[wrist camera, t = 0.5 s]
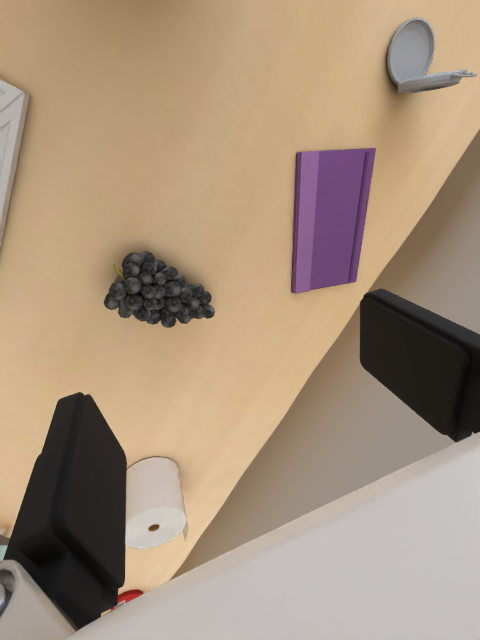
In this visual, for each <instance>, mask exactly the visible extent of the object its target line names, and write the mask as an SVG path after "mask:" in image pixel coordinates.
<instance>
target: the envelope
mask: <svg viewBox="0 0 480 640" xmlns="http://www.w3.org/2000/svg"><path fill="white" fill-rule="evenodd" d="M29 98H30V95H29V94H28V93H26V92H24V91H22V90H20V89H18V88H16V87H14V86H12V85H10V84H8V83H6V82H4V81H2V80H1V79H0V249H1V244H2V239H3V233H4V228H5V223H6V218H7V213H8V207H9V202H10V197H11V192H12V186H13V181H14V176H15V171H16V165H17V160H18V155H19V150H20V145H21V139H22V134H23V129H24V124H25V118H26V113H27V108H28V103H29Z"/></svg>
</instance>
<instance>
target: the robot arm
mask: <svg viewBox="0 0 480 640" xmlns="http://www.w3.org/2000/svg"><path fill="white" fill-rule="evenodd" d="M360 362H361V364H362V366H363V367H364V369H365V370H367V371H368V372H369V373H370V374H371V375H372V376H374V377H375V378H376V379H377V380H378V381H379V382H381V383H382V384H383V385H384V386H385V387H387V388H388V389H389V390H390V391H391V392H392V393H394V394H395V395H396V396H397V397H398V398H399V399H401V400H402V401H403V402H404V403H405V404H407V405H408V406H409V407H410V408H411V409H412V410H414V411H415V412H416V413H417V414H418V415H419V416H420V417H422V418H423V419H424V420H425V421H426V422H428V423H429V424H430V425H431V426H432V427H433V428H435V429H436V430H437V431H438V432H440V433H441V434H443V435H448V436H449V437H450V438H451V439H452V440H454V441H455V442H456V443H455V444H453V445H450V446H448V447H447V448H444V449H442V450H440V451H438V452H436V453H434V454H431V455H429V456H427V457H425V458H423V459H421V460H419V461H416V462H414V463H412V464H410V465H408V466H406V467H404V468H402V469H400V470H397V471H395V472H393V473H391V474H389V475H387V476H385V477H383V478H381V479H379V480H377V481H375V482H372V483H370V484H368V485H366V486H364V487H362V488H360V489H358V490H356V491H353V492H351V493H349V494H348V495H346V496H343V497H341V498H339V499H337V500H335V501H333V502H330V503H329V504H326V505H324V506H322V507H320V508H318V509H316V510H314V511H312V512H310V513H308V514H305V515H303V516H301V517H299V518H297V519H295V520H293V521H291V522H289V523H287V524H285V525H283V526H281V527H279V528H277V529H274V530H272V531H270V532H268V533H266V534H264V535H262V536H260V537H258V538H256V539H254V540H252V541H250V542H248V543H245V544H244V545H241V546H240V547H237V548H235V549H233V550H231V551H229V552H227V553H225V554H223V555H221V556H219V557H217V558H215V559H213V560H211V561H209V562H206V563H204V564H202V565H201V566H198V567H196V568H194V569H192V570H190V571H188V572H186V573H184V574H182V575H180V576H178V577H177V578H174V579H172V580H170V581H168V582H166V583H164V584H162V585H160V586H158V587H157V588H155V589H153V590H151V591H149V592H147V593H145V594H143V595H141V596H139V597H137V598H135V599H133V600H131V601H129V602H127V603H125V604H123V605H121V606H120V607H118V608H116V609H114V610H113V611H111V612H109V613H107V614H105V615H104V616H102V617H101V613H102V612H104V611H107V610H109V609H111V608H113V607H115V606H117V605H118V588H120V587H123V585H124V581H125V539H126V474H127V461H126V456H125V453H124V451H123V449H122V447H121V446H120V444H119V442H118V440H117V439H116V437H115V435H114V434H113V432H112V430H111V429H110V427H109V425H108V424H107V422H106V420H105V418H104V417H103V415H102V413H101V412H100V410H99V408H98V407H97V405H96V403H95V402H94V400H93V398H92V397H91V395H89V394H87V395H85V396H84V394H83V393H81V392H78V393H75V394H73V395H70V396H67V397H64V398H61V399H59V400H58V402H57V405H56V409H55V412H54V415H53V418H52V421H51V424H50V428H49V431H48V434H47V437H46V440H45V443H44V447H43V450H42V453H41V454H40V455H39V456H38V458H37V460H36V462H35V465H34V468H33V471H32V474H31V477H30V480H29V483H28V486H27V489H26V492H25V495H24V498H23V501H22V504H21V507H20V510H19V513H18V516H17V520H16V523H15V526H14V529H13V532H12V535H11V538H10V541H9V544H8V547H7V550H6V553H5V556H4V559H3V560H2V561H0V640H480V334H478V333H475V332H473V331H471V330H469V329H467V328H465V327H463V326H460V325H458V324H456V323H454V322H452V321H450V320H448V319H446V318H443V317H441V316H440V315H437V314H435V313H433V312H431V311H429V310H427V309H425V308H423V307H420V306H418V305H416V304H414V303H412V302H410V301H408V300H406V299H404V298H401V297H399V296H397V295H395V294H393V293H391V292H389V291H387V290H385V289H377V290H375V291H372V292H369V293H366V294H365V295H364V297H363V299H362V300H361V302H360ZM472 432H474V433H475V434H474V435H472V436H471V434H472Z"/></svg>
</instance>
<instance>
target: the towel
mask: <svg viewBox="0 0 480 640" xmlns="http://www.w3.org/2000/svg"><path fill="white" fill-rule="evenodd" d="M375 150H376V148H369V149H351V150H333V151H315V152H297V154H296V180H295V207H294V233H293V260H292V286H291V292H292V293H295V294H296V293H302V292H307V291H310V290H313V289H319V288H324V287H330V286H335V285H341V284H346V283H352V282H356V279H357V272H358V265H359V258H360V252H361V245H362V238H363V231H364V224H365V218H366V211H367V204H368V197H369V190H370V184H371V177H372V170H373V163H374V156H375Z"/></svg>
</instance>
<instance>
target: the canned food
mask: <svg viewBox="0 0 480 640" xmlns="http://www.w3.org/2000/svg"><path fill="white" fill-rule="evenodd" d="M141 595H143V593H142V592H141V591H139V590H132V591H128V592H125V593H123V594H121V595H119V596H118V605H117V606H115V607H113V608H111V611H113V610H114V609H116V608H118V607H120V606H121V605H123V604H125V603H127V602H129V601H131V600H133V599H135V598H137V597H139V596H141Z"/></svg>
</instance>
